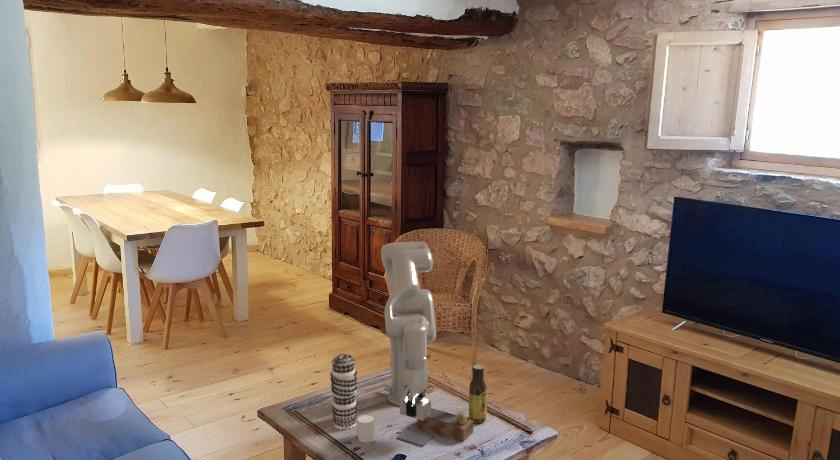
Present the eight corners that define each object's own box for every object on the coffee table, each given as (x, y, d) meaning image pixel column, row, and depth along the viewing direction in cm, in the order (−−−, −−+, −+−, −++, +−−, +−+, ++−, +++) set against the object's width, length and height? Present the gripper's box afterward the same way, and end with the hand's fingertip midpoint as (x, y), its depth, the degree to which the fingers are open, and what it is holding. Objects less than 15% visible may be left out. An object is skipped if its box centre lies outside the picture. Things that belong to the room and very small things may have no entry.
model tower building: (344, 414, 227) (342, 349, 221) (363, 421, 221) (362, 355, 216) (326, 425, 219) (323, 357, 214) (346, 433, 214) (344, 364, 209)
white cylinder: (368, 445, 206) (368, 426, 205) (351, 439, 210) (351, 420, 208) (380, 436, 212) (380, 417, 211) (364, 430, 216) (364, 411, 214)
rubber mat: (397, 438, 211) (397, 437, 210) (408, 429, 216) (408, 427, 216) (422, 446, 205) (422, 445, 205) (433, 437, 211) (433, 435, 211)
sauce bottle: (485, 425, 219) (486, 371, 215) (467, 423, 220) (468, 370, 216) (487, 416, 225) (488, 364, 221) (469, 414, 226) (470, 362, 222)
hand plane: (417, 427, 217) (417, 407, 216) (427, 418, 223) (427, 399, 222) (463, 441, 208) (463, 420, 207) (473, 432, 214) (473, 412, 213)
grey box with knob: (400, 413, 209) (399, 398, 208) (408, 407, 214) (407, 392, 212) (423, 420, 205) (423, 404, 204) (431, 414, 209) (431, 398, 208)
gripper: (418, 349, 214) (418, 399, 218) (391, 367, 200) (391, 420, 204) (438, 354, 211) (437, 404, 214) (411, 373, 196) (411, 426, 200)
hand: (415, 411), depth 209 cm, fingers closed on grey box with knob, 5 cm apart
